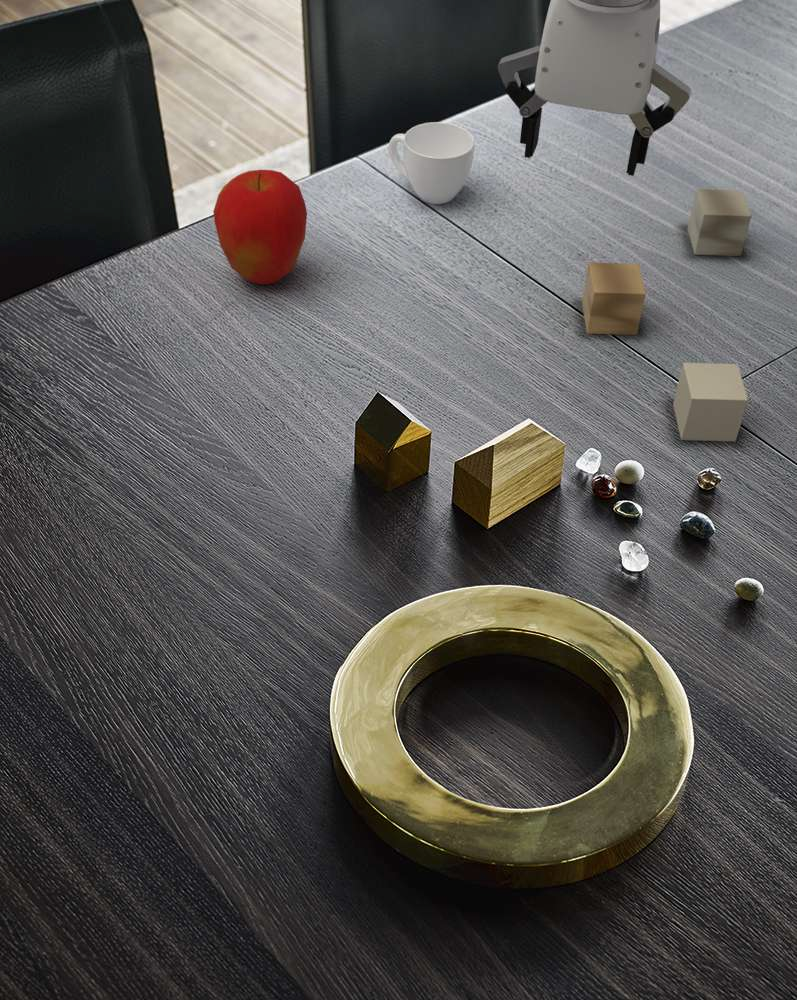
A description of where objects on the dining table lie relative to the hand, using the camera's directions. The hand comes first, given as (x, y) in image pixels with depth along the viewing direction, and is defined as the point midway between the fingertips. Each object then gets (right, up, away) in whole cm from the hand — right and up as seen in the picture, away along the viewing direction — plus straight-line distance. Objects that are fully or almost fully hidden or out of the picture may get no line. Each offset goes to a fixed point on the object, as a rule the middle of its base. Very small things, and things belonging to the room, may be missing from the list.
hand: (581, 159), depth 118 cm
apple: (-31, -9, +11) cm, 34 cm away
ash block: (+17, -4, +18) cm, 25 cm away
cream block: (+11, -25, -3) cm, 27 cm away
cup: (-14, +3, +24) cm, 28 cm away
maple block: (+4, -14, +8) cm, 16 cm away
